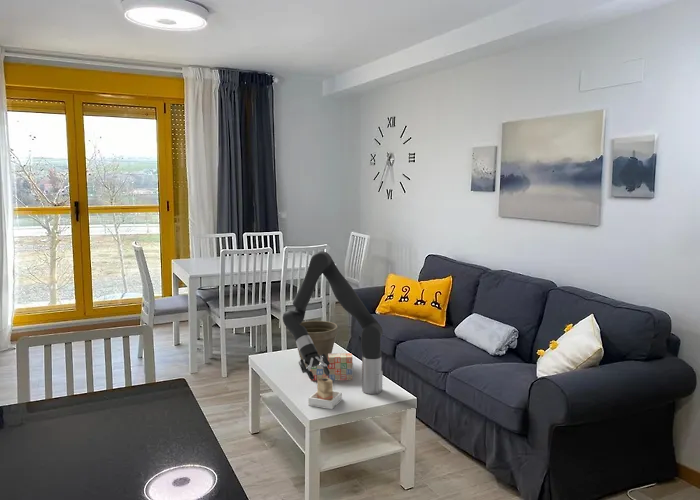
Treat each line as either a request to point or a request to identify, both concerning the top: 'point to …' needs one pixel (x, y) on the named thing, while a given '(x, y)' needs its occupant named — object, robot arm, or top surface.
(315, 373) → the stack of blocks
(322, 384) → the oak block
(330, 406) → the white tray
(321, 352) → the plant pot
